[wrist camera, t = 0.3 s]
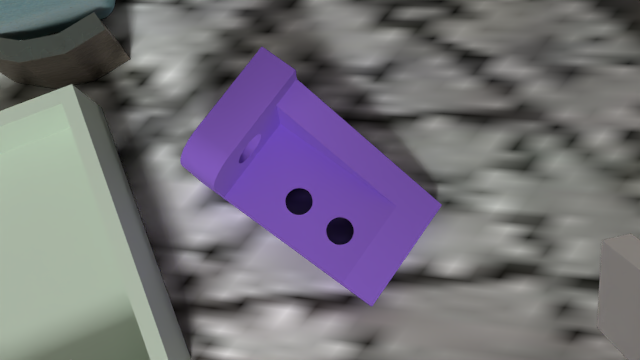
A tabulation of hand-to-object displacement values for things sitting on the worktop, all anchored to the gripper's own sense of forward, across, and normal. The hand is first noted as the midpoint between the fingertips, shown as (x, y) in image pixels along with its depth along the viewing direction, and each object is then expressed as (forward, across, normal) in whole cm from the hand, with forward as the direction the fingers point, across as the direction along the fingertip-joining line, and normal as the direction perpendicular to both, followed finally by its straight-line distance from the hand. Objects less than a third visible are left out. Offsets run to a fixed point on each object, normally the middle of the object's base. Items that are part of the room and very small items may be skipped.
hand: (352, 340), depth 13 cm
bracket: (+18, -1, +5) cm, 19 cm away
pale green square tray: (+17, +17, +6) cm, 25 cm away
